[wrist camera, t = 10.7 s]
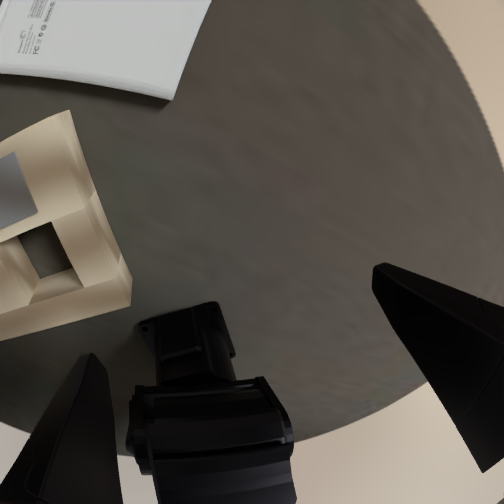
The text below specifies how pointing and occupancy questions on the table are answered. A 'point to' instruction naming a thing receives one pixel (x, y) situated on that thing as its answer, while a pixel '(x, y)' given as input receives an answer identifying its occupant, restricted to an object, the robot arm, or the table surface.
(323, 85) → the table surface
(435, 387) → the robot arm
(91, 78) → the external hard drive
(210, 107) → the table surface
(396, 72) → the table surface
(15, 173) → the socket block
